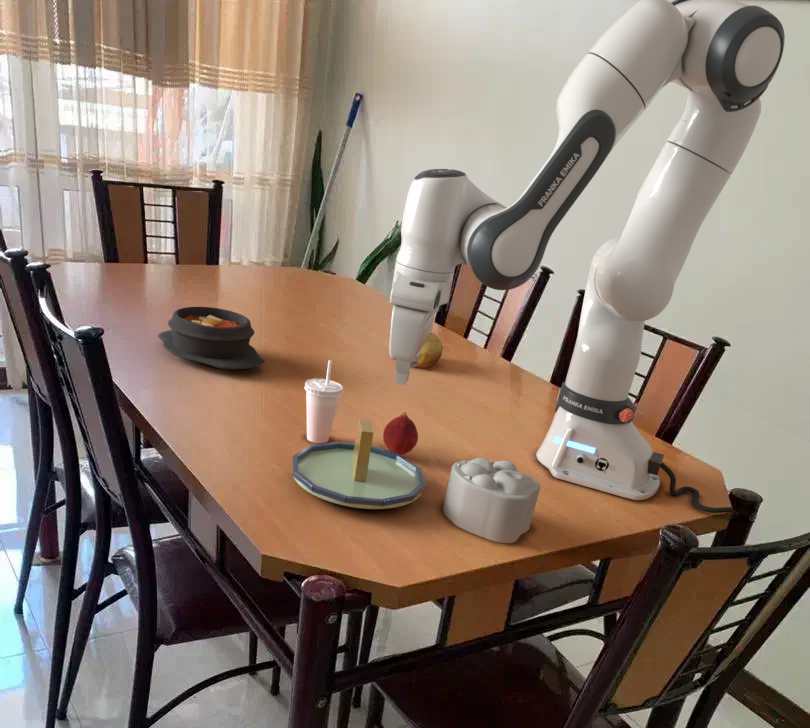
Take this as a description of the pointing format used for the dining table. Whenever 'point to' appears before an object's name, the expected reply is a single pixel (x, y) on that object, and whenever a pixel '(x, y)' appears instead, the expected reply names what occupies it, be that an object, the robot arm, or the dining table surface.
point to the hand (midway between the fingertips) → (406, 374)
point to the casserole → (211, 338)
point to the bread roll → (430, 351)
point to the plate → (342, 478)
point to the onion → (400, 434)
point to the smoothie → (321, 406)
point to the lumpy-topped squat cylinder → (491, 499)
